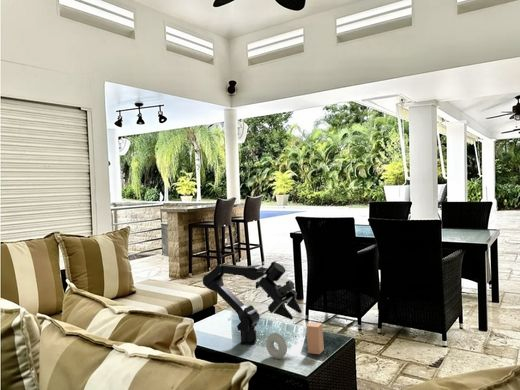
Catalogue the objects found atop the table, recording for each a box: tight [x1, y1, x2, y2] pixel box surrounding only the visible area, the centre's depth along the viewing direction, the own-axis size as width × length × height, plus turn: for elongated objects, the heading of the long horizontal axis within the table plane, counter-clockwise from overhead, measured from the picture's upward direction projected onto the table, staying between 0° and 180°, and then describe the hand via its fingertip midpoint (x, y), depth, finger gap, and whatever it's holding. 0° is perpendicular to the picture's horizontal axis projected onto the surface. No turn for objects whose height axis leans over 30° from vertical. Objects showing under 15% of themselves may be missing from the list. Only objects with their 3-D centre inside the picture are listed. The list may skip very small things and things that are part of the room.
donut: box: [265, 332, 288, 360], centre depth 161 cm, size 10×4×10 cm, turn 49°
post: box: [305, 321, 325, 355], centre depth 165 cm, size 5×5×11 cm
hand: (296, 315), depth 169 cm, fingers open, 9 cm apart
